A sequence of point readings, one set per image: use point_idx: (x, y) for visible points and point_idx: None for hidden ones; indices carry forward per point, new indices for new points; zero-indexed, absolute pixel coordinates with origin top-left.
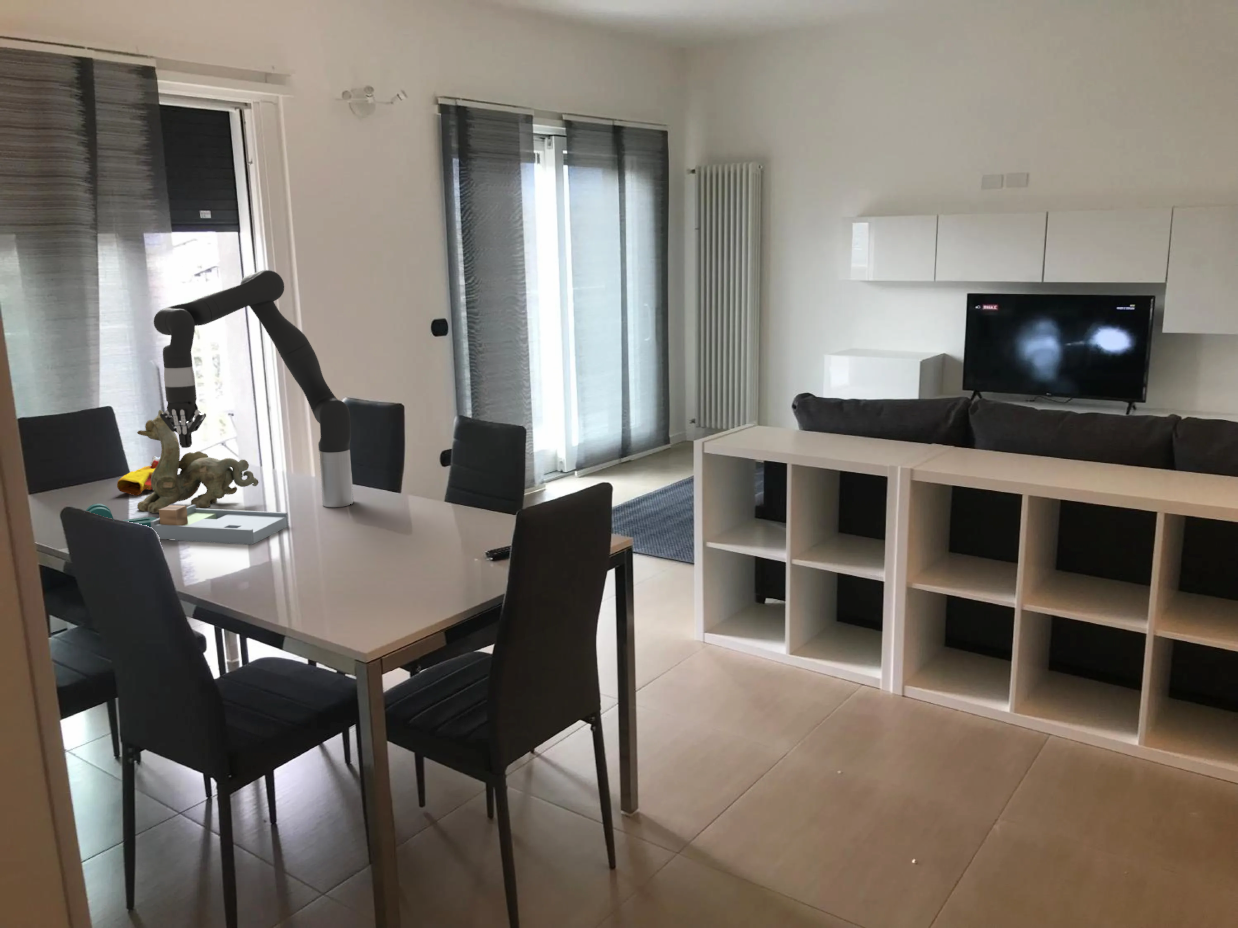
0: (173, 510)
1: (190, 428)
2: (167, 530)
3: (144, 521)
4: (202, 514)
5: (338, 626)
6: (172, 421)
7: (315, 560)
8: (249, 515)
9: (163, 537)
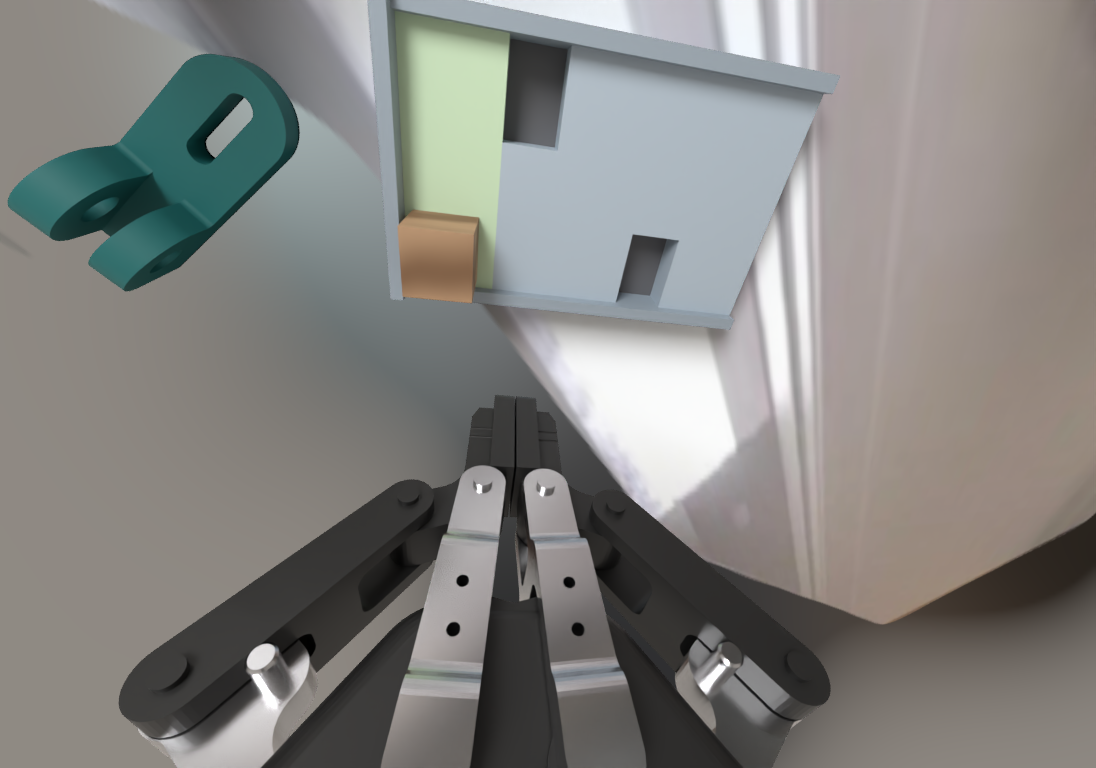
0: (464, 302)
1: (600, 574)
2: None
3: (256, 141)
4: (457, 59)
5: (866, 593)
6: (354, 605)
7: (864, 407)
8: (671, 73)
9: None
